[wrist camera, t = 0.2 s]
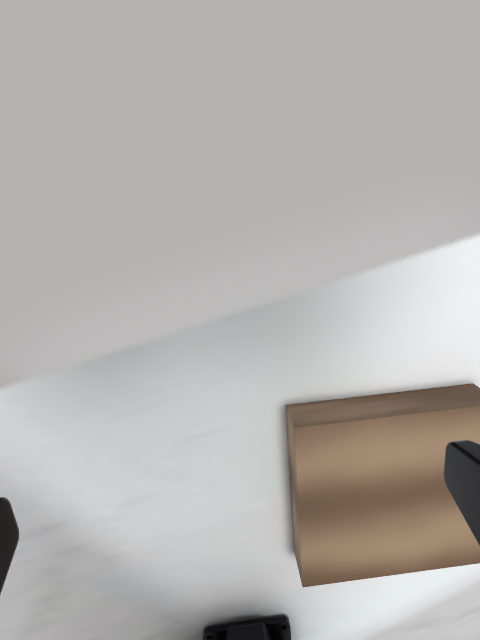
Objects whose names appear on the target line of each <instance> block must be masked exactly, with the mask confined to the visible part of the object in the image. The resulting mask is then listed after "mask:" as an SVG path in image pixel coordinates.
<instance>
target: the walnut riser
mask: <svg viewBox="0 0 480 640" xmlns="http://www.w3.org/2000/svg"><path fill="white" fill-rule="evenodd" d="M286 410H287V428H288V445H289V463H290V480H291V498H292V515H293V533H294V550H295V557H296V561H297V565H298V569H299V574H300V578H301V582H302V586H303V587H309V586H316V585H323V584H331V583H338V582H345V581H352V580H360V579H367V578H374V577H382V576H389V575H396V574H404V573H411V572H418V571H426V570H433V569H440V568H448V567H455V566H462V565H469V564H477V563H480V546H479V544H478V542H477V541H476V539H475V537H474V535H473V533H472V532H471V530H470V528H469V526H468V524H467V523H466V521H465V519H464V517H463V515H462V514H461V512H460V510H459V508H458V506H457V504H456V503H455V501H454V499H453V497H452V495H451V494H450V492H449V490H448V488H447V486H446V484H445V480H444V462H445V450H446V446H447V444H448V443H449V442H451V441H458V440H470V441H473V442H475V443H478V444H480V388H479V387H477V386H476V385H475V384H466V385H457V386H448V387H440V388H431V389H422V390H414V391H405V392H396V393H387V394H379V395H370V396H361V397H353V398H344V399H335V400H326V401H318V402H309V403H300V404H292V405H286Z"/></svg>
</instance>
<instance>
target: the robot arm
mask: <svg viewBox="0 0 480 640" xmlns="http://www.w3.org/2000/svg"><path fill="white" fill-rule="evenodd" d="M444 480H445V484H446V486H447V488H448V490H449V492H450V494H451V495H452V497H453V499H454V501H455V503H456V504H457V506H458V508H459V510H460V512H461V514H462V515H463V517H464V519H465V521H466V523H467V524H468V526H469V528H470V530H471V532H472V533H473V535H474V537H475V539H476V541H477V542H478V544H479V546H480V444H478V443H475V442H473V441H470V440H458V441H451V442H449V443H448V444H447V446H446V450H445V462H444ZM18 540H19V529H18V525H17V522H16V519H15V516H14V513H13V510H12V507H11V504H10V502H9V500H8V499H7V498H4V497H0V594H1V591H2V588H3V585H4V582H5V579H6V576H7V573H8V570H9V567H10V565H11V562H12V559H13V556H14V553H15V550H16V547H17V544H18ZM203 640H291V632H290V623H289V619H288V618H286V617H278V618H271V619H263V620H256V621H249V622H242V623H234V624H227V625H220V626H213V627H207V628H206V629H204V632H203Z"/></svg>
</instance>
